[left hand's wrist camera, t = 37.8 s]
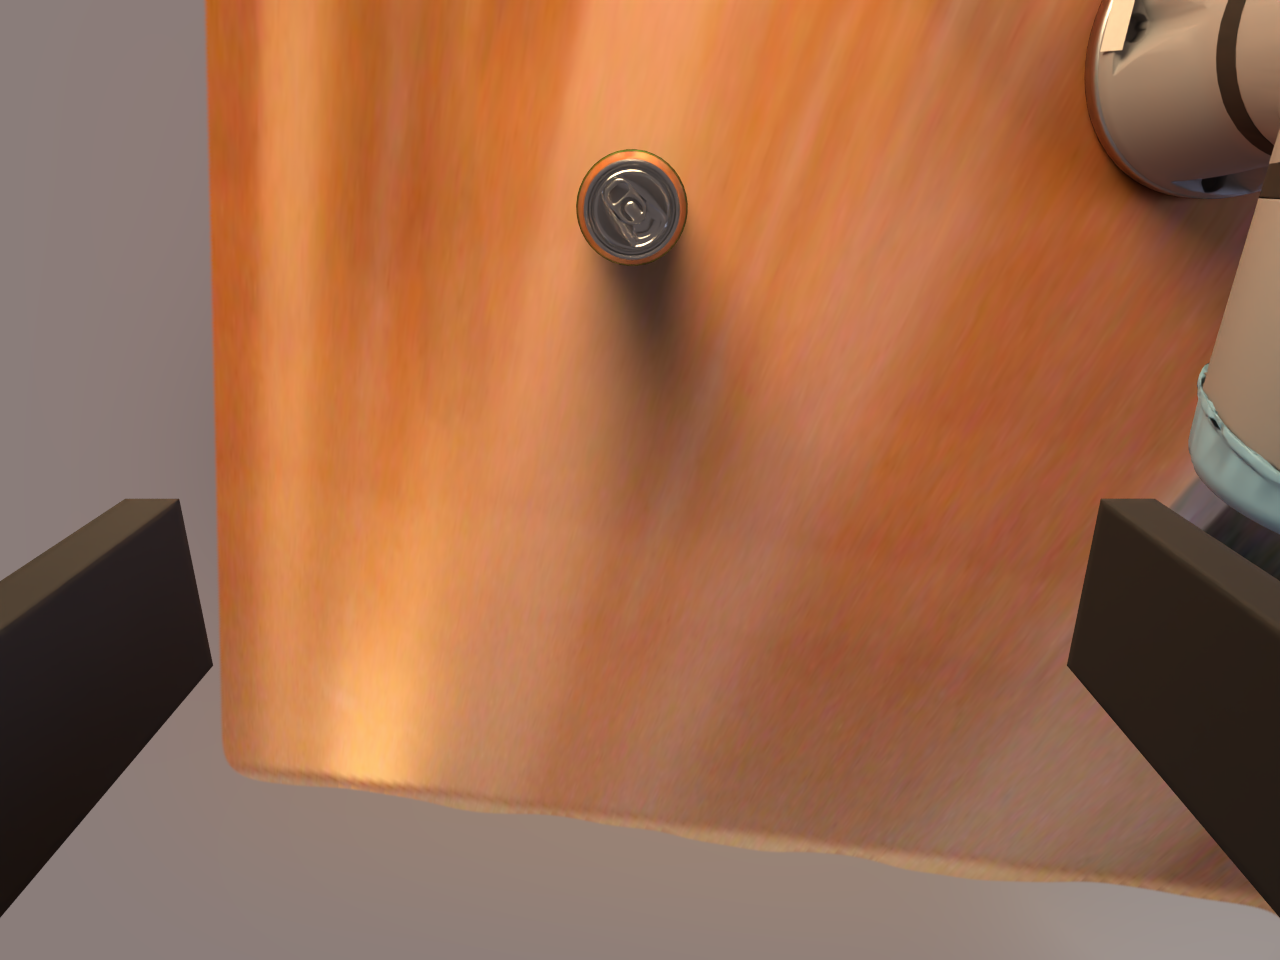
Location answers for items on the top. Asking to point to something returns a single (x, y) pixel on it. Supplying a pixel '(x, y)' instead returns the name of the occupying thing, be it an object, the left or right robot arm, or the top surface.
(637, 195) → the soda can
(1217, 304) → the top surface
